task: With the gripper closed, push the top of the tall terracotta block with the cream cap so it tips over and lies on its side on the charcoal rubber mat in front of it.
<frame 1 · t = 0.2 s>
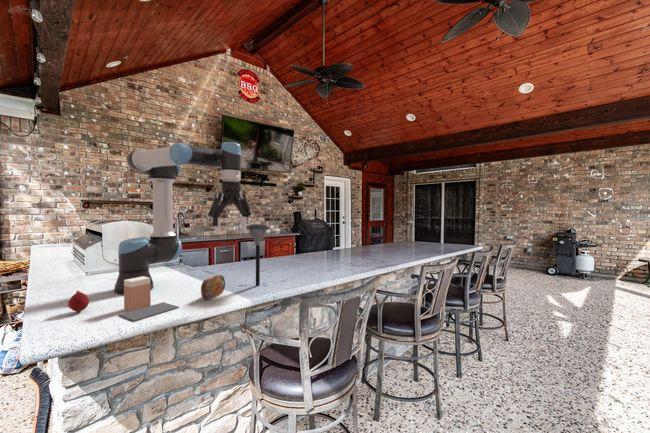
hand: (231, 233, 123), 28 cm above the counter, tool pointing down, fingers open, 13 cm apart
terracotta block: (137, 307, 114), on the counter
onion: (79, 312, 108), on the counter
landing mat: (150, 311, 110), on the counter
solar garden light: (257, 286, 147), on the counter
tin: (213, 296, 130), on the counter
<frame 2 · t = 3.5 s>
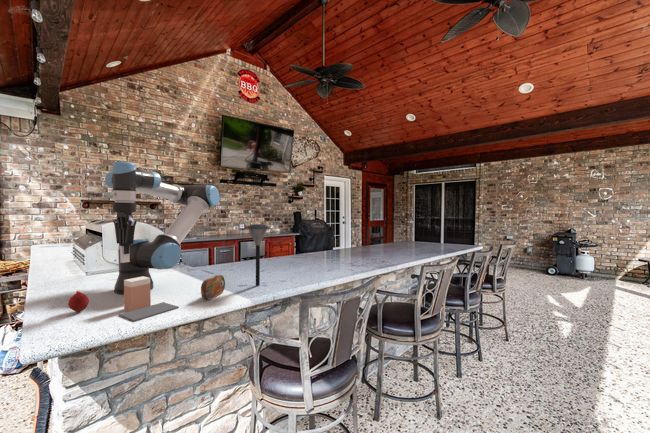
hand: (124, 262, 118), 17 cm above the counter, tool pointing down, fingers closed
nothing on the counter moved.
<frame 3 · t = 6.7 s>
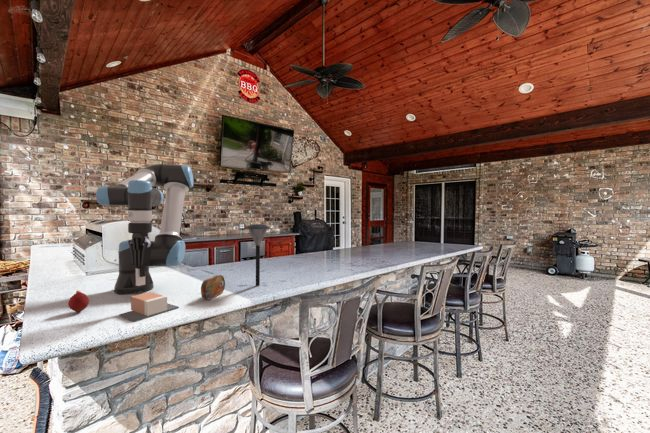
hand: (140, 284, 112), 9 cm above the counter, tool pointing down, fingers closed
terracotta block: (140, 300, 113), point 3 cm above the counter, tilted 90°, touching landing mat
everything else where it was.
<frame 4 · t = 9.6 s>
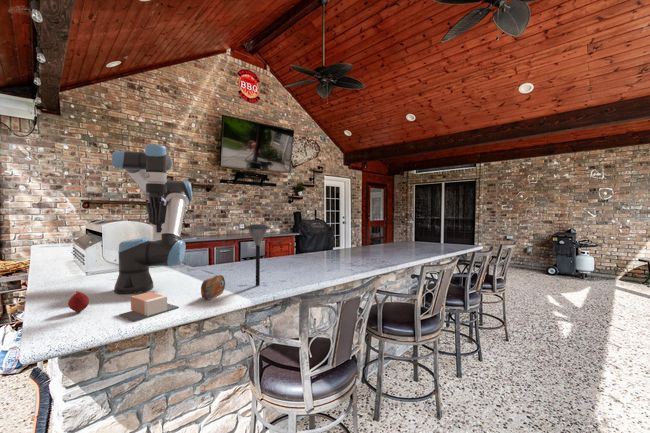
hand: (157, 240, 125), 24 cm above the counter, tool pointing down, fingers closed
nothing on the counter moved.
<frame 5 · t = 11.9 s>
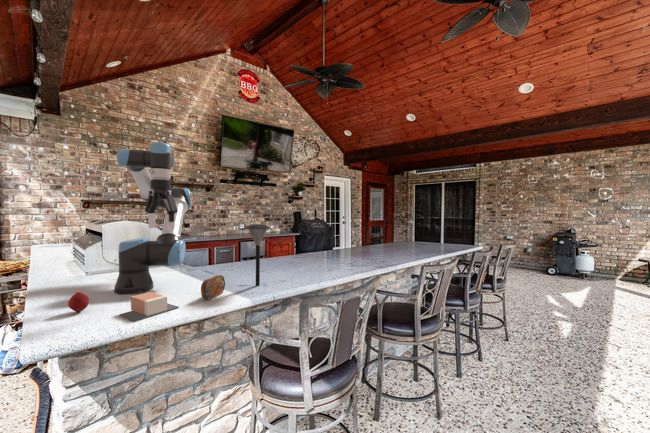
hand: (160, 229, 129), 29 cm above the counter, tool pointing down, fingers open, 13 cm apart
nothing on the counter moved.
at the end: terracotta block tilted 90°; terracotta block inside the target area (1.7 cm from its centre), point 3.0 cm above the counter; terracotta block touching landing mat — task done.
